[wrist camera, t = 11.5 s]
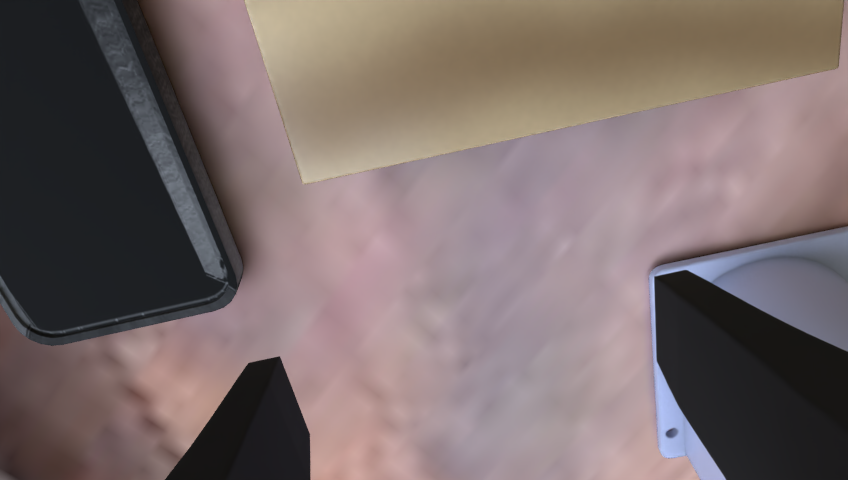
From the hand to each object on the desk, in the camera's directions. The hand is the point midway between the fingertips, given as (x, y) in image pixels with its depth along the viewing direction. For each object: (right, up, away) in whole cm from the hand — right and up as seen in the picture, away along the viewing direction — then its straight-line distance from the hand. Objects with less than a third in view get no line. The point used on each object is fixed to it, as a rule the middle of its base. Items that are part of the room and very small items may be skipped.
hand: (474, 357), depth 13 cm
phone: (-12, +6, +8) cm, 16 cm away
